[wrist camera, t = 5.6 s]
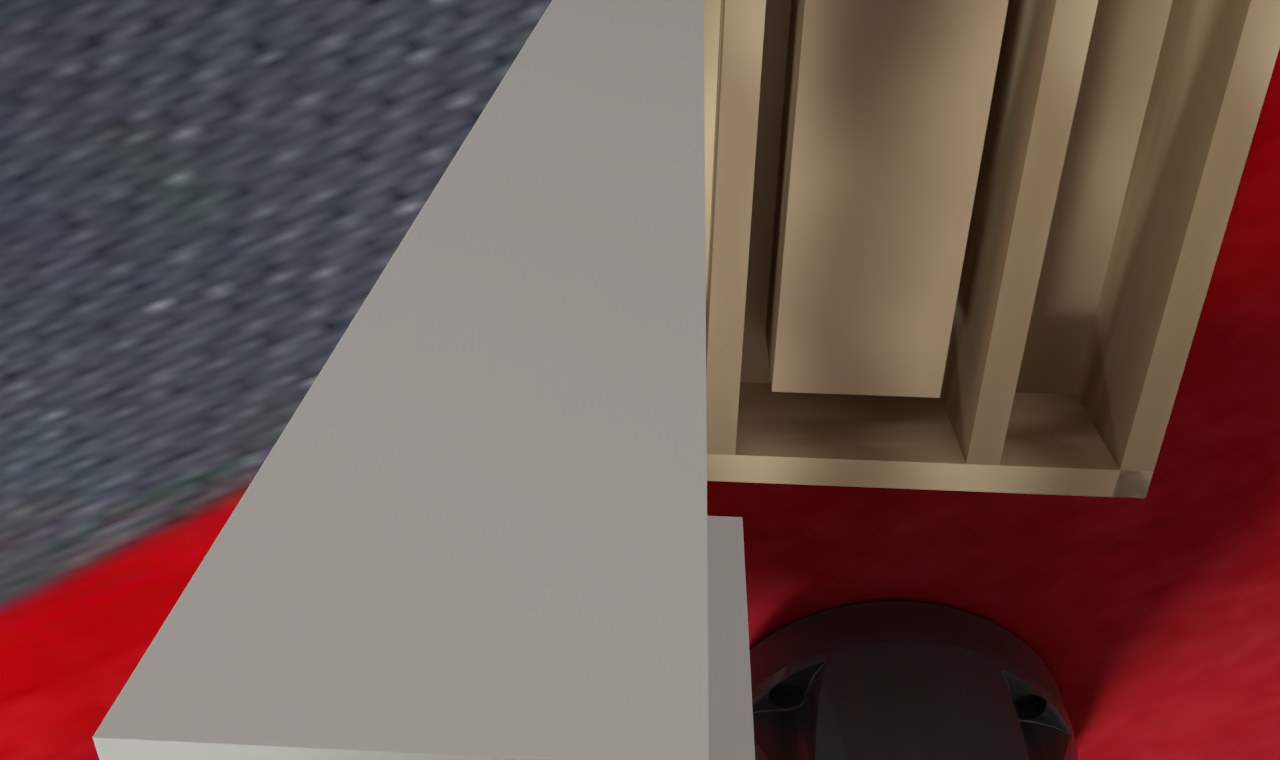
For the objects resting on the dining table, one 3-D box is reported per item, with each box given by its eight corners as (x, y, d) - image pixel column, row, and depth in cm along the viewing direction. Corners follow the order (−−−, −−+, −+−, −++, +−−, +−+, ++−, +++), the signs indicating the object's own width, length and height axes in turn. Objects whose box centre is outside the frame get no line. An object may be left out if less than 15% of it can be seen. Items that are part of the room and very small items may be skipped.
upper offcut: (1008, -122, 28) (1028, -114, 26) (927, 365, 35) (939, 397, 33) (808, -126, 28) (815, -118, 26) (768, 359, 35) (771, 391, 33)
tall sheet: (703, -38, 17) (709, 766, 4) (676, 631, 24) (642, 1801, 10) (577, -41, 17) (91, 737, 4) (586, 627, 24) (432, 1783, 10)
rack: (1250, -255, 29) (1370, -256, 24) (1086, 398, 39) (1145, 498, 34) (576, -265, 30) (548, -269, 24) (584, 380, 40) (566, 475, 34)
